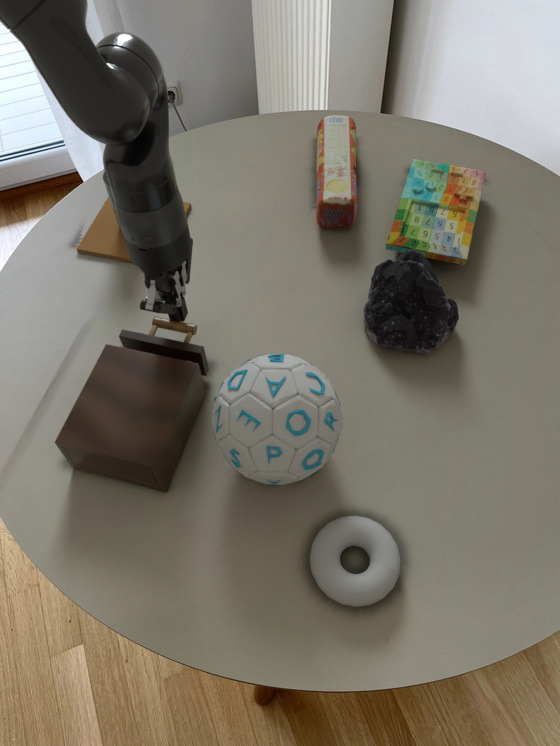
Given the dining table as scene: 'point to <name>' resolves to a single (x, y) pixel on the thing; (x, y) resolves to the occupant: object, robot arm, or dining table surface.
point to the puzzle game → (437, 211)
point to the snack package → (336, 173)
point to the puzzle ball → (276, 419)
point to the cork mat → (108, 235)
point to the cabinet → (133, 417)
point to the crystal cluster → (409, 305)
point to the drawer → (167, 343)
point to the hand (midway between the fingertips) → (179, 316)
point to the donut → (343, 583)
